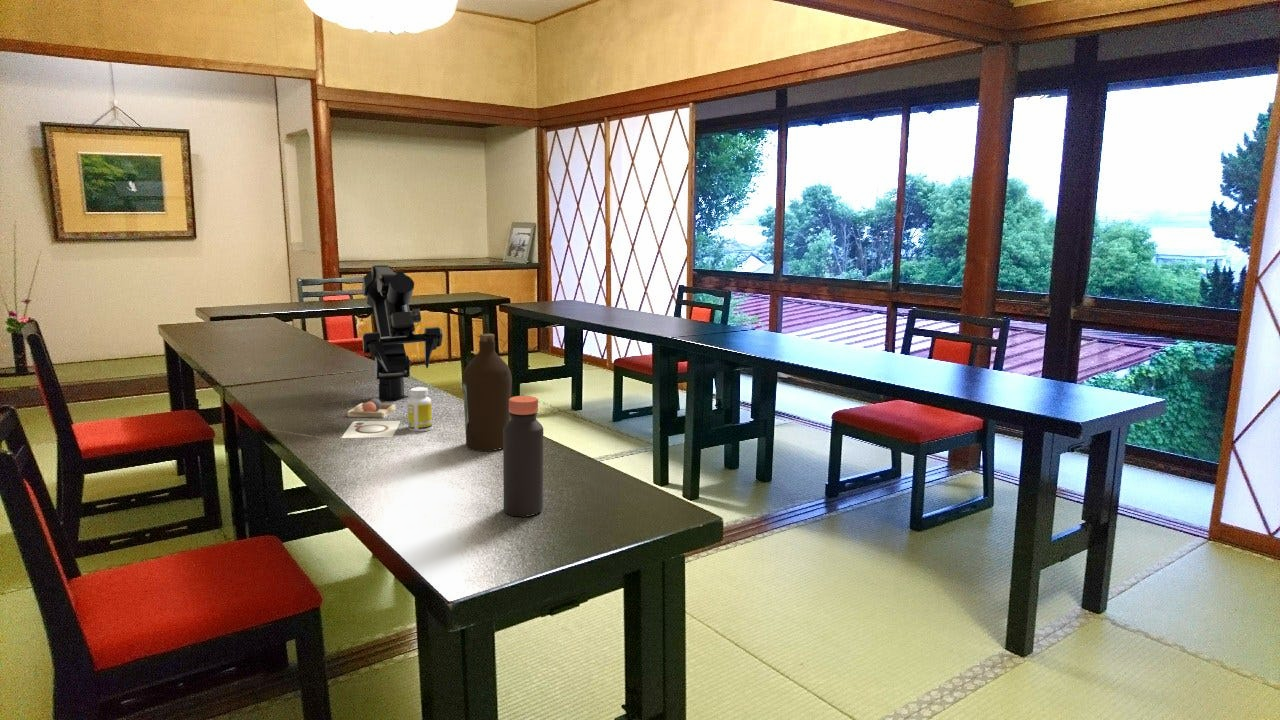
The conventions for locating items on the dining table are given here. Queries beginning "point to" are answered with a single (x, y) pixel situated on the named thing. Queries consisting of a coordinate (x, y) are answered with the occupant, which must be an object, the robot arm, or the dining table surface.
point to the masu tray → (379, 413)
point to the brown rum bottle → (486, 397)
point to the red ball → (369, 407)
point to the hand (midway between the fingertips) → (408, 369)
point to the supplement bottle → (419, 410)
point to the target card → (371, 429)
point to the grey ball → (376, 403)
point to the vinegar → (523, 458)
